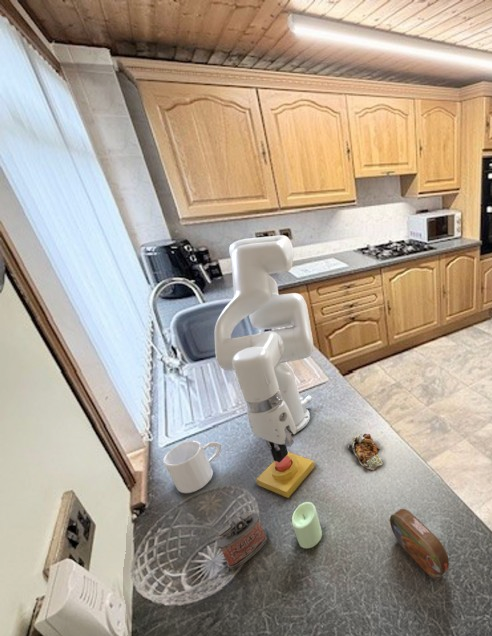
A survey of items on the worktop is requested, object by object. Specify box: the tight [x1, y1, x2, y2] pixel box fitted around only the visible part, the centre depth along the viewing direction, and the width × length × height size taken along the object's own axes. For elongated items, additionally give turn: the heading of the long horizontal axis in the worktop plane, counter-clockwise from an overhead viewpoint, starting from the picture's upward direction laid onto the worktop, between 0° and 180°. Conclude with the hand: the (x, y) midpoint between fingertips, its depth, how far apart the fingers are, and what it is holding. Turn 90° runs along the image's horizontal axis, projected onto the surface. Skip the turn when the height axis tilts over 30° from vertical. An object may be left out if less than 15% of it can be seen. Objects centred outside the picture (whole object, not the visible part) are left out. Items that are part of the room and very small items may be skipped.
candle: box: [291, 501, 323, 549], centre depth 74 cm, size 5×5×8 cm
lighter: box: [216, 510, 268, 570], centre depth 71 cm, size 8×3×10 cm, turn 141°
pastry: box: [347, 433, 384, 471], centre depth 95 cm, size 7×12×4 cm, turn 39°
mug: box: [162, 440, 222, 494], centre depth 89 cm, size 8×12×10 cm
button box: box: [255, 451, 316, 499], centre depth 90 cm, size 10×10×4 cm
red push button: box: [275, 456, 292, 472], centre depth 88 cm, size 4×4×2 cm
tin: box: [389, 508, 450, 580], centre depth 70 cm, size 15×3×8 cm, turn 45°
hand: (281, 457), depth 87 cm, fingers closed
